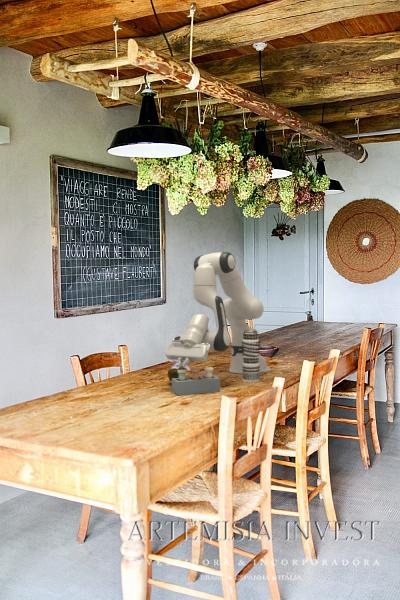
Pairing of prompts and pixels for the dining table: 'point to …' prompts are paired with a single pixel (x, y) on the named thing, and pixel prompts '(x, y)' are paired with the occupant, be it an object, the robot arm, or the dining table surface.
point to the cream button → (208, 372)
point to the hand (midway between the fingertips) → (181, 366)
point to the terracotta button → (195, 373)
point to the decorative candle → (250, 356)
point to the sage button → (181, 374)
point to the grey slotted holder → (195, 385)
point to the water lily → (178, 363)
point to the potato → (173, 373)
